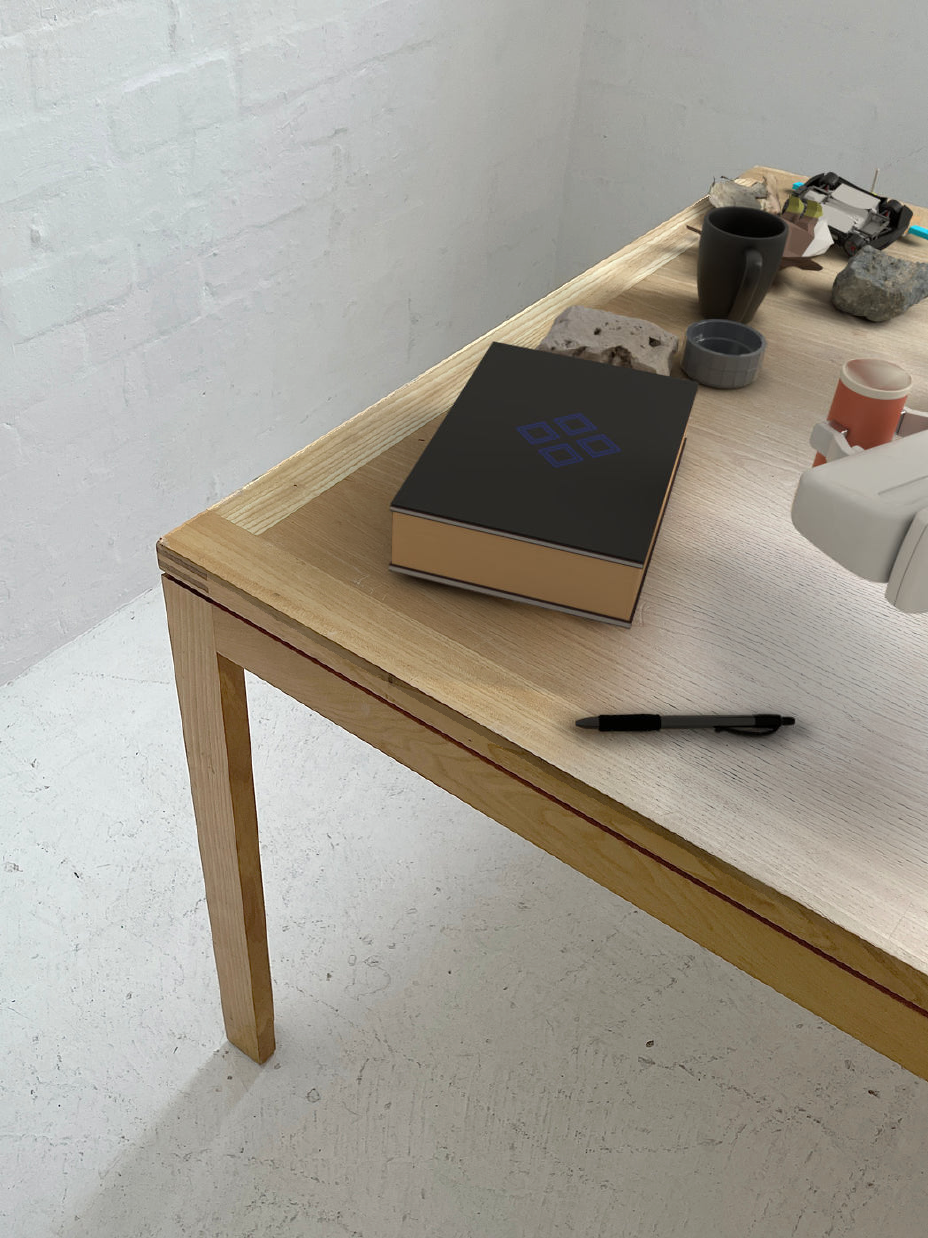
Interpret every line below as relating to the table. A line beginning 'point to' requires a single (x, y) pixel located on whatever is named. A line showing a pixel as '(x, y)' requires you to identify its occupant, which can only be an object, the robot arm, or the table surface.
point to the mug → (738, 261)
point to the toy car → (854, 213)
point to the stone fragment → (747, 195)
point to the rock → (879, 285)
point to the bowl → (722, 353)
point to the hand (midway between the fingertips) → (849, 420)
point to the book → (546, 483)
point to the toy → (802, 235)
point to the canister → (869, 402)
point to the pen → (688, 723)
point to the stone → (611, 340)
